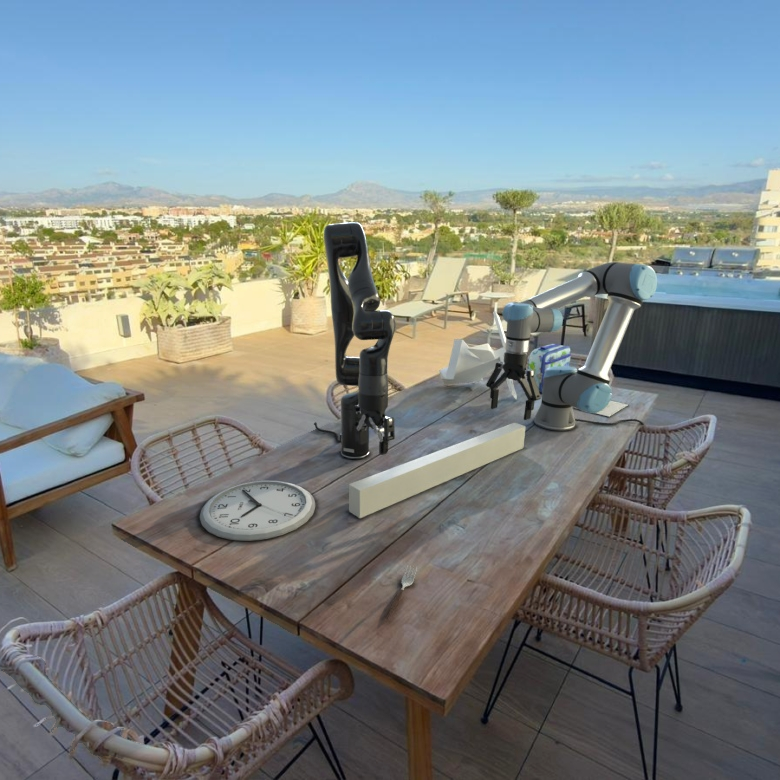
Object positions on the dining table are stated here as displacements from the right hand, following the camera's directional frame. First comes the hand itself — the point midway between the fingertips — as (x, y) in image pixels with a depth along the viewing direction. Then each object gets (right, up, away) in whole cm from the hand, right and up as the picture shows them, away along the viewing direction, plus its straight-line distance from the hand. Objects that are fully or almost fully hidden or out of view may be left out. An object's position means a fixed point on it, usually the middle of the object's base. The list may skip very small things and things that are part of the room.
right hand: (510, 413), depth 176 cm
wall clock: (-76, -24, -36) cm, 87 cm away
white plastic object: (+1, +7, +67) cm, 68 cm away
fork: (-38, -35, -68) cm, 85 cm away
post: (-23, -19, -15) cm, 33 cm away
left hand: (-45, -7, -39) cm, 60 cm away
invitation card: (+51, +1, +50) cm, 72 cm away
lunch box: (+35, +9, +75) cm, 83 cm away
